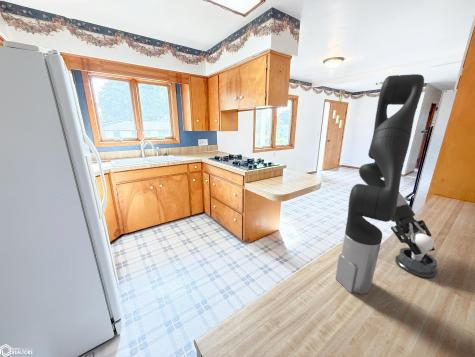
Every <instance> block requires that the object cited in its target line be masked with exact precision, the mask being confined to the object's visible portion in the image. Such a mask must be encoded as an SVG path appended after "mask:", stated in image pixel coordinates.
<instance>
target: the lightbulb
mask: <svg viewBox="0 0 475 357" xmlns="http://www.w3.org/2000/svg"><path fill="white" fill-rule="evenodd" d="M413 238H414V243H416V245H417V246H418V247H419V249H420V251H421V252H422V254H419V255H414V253H413V252H412V257H411V258H412V259H413V260H414V261H417V262H420V261H421V259H422V257H424V255H425V253H428V252H431V251H430V250H431V249H432V248H433V247H435V242H434V240H433V239H432V236H430V237H429V236H428V235H426V233H425V234H423V233H415V234H414V236H413Z"/></svg>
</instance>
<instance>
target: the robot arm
mask: <svg viewBox="0 0 475 357" xmlns="http://www.w3.org/2000/svg"><path fill="white" fill-rule="evenodd" d="M424 85H425V77H424V76H423V75H422V74H419V73H417V74H414V73H413V74H399V75H398V74H397V75H395V74H393V75H389V76H387V77H386V78H385V79H384V81H383V83H382V85H381V88H380V91H379V95H378V100H377V105H376V106H377V107H376V112H375V113H376V114H375V120H374V127H373V135H372V138H371V141H370V142H371V143H370V146H369V149H368V153H367V154H368V157H369V159H372V160H374V162H369V163H365V164H362V165H361V166H360V167H359V169H358V175H359V177H360V179H362V181H363V182H364V183H365V184H363V183H356V184H354V185H353V186H352V188H351V191H350V194H349V197H348V207H347V208H348V209H347V210H348V211H347V217H346V218H347V219H346V225H345V230H344V231H345V232H344V237H343V244H342V250H341V254H339V255H338V260H337V267H336V273H335V280H337V281H338V283H340V284H341V285H342V286H343V287H344V288H345V290H347V291H348V292H349V293H350V294H352V293H355V294H360V295H364V294H368V293H369V292H370V291H371V290H372V289H371V288H372V284H373V279H374V275H375V270H376V266H377V261H378V258H379V254H380V253H379V252H380V249H381V244H382V241H383V233H382V230H381V229H380V228H379V227H378V226H376V225H375V224H374V223H371V222H370V221H368V220H367V219H365V218H368V219H372V220H376V221H380V222H384V223H385V222H386V223H387V222H390V221H391V222H393V223H395V225H393V226H391V227H390V230H391V231H392V232H393V234H394V235H395V236H396V238H397V239H398V240H399V242H400V244H406V245H408V248H410V249H411V251H412V252H413V253H414V255H419V254H422V252H421V251H420V249H419V247H418V246H417V245H416V243H414V238H413V236H414V234H415V233H423V234H426V235H428V236H429V237H432V233H431V231H430V230H429V228H428V226H427V224H426V223H425V221H424V220H423V219H420V220H416V218H415V217H416V213H415V212H414V209H412V208H411V206H410V204H409V202H408V201H407V200H406V199H405V197H404V196H403V195H402V194H401V193H400V185H401V179H402V178H401V177H402V174H403V169H404V168H403V167H404V164H405V159H406V157H407V155H408V154H407V153H408V150H409V146H410V141H411V137H412V130H413V125H414V122H415V120H414V119H415V116H416V112H417V108H418V105H419V102H420V98H421V96H422V93H423V89H424V87H425V86H424ZM392 105H393V106H394V105H396V106H397V105H398V106H400V105H401V108H399V110H397V111H396V112H395V113H394V114H392V115H390V116H389V117H388V106H392ZM382 178H383V179H382ZM435 250H436V248H435V246H433V248H432V249H431V250H430V251H429V252H434V251H435Z"/></svg>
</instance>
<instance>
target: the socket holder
mask: <svg viewBox="0 0 475 357" xmlns="http://www.w3.org/2000/svg"><path fill="white" fill-rule="evenodd" d="M411 257H412V251H411V249H410V248H409V247H401V248H400V250H399V254H398V255H396V256H395V260H394V261H395V264H396V265H397V266H398V267H399V268H401V270H403V271H405V272H407V273H408V274H410V275H413V276H415V277H418V278H422V279H427V280H429V279H434V278H437V275H438V270H437V266H438V261H437V259H435V258H434V257H433V256H432V255H431V254H429V253H428V252H426V253H425V255H424V257H422V259H421V261H420V262H417V261H414V260H413V259H412V258H411Z"/></svg>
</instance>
